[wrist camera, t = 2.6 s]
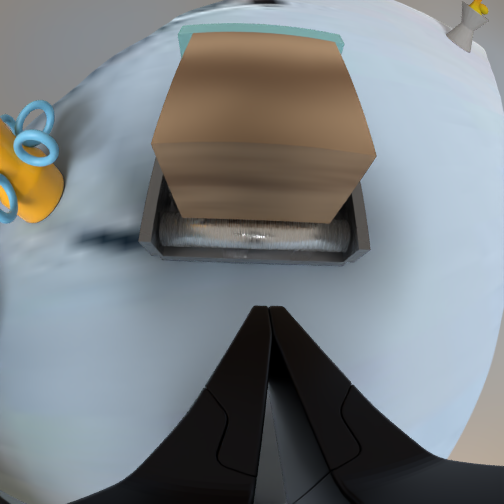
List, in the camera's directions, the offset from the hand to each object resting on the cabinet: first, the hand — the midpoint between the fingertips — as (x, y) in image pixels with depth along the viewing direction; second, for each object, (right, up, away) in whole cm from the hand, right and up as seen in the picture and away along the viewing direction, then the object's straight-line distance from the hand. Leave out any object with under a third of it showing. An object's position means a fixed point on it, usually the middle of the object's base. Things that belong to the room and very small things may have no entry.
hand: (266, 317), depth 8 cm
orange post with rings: (-21, +7, +13) cm, 26 cm away
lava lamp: (+59, +62, +34) cm, 92 cm away
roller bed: (0, +9, +14) cm, 17 cm away
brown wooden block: (0, +9, +10) cm, 13 cm away
